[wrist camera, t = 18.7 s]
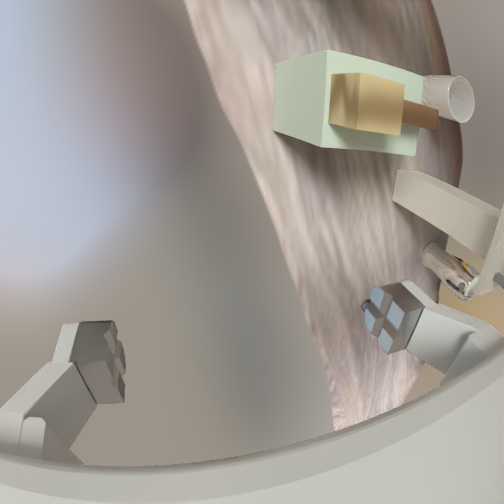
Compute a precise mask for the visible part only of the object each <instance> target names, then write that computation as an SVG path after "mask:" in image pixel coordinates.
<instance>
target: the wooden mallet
mask: <svg viewBox="0 0 504 504" xmlns="http://www.w3.org/2000/svg"><path fill="white" fill-rule="evenodd" d="M404 89H405V84H402V83H399V82H395V81H392V80H388V79H384V78H381V77H377V76H373V75H369V74H365V73H341V74H331V88H330V103H329V117H328V123H330V124H335V125H339V126H343V127H347V128H352V129H356V130H363V131H370V132H377V133H384V134H390V135H396V136H400V132H401V123H405V124H410V125H414V126H418V127H423V128H427V129H431V130H435V131H437V125H438V115H439V110H437V109H434V108H431V107H428V106H425V105H421V104H418V103H414V102H411V101H407V100H404Z"/></svg>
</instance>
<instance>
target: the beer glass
mask: <svg viewBox="0 0 504 504" xmlns="http://www.w3.org/2000/svg"><path fill="white" fill-rule="evenodd" d="M421 263H422V265H424V266H426V267H428V268H430V269H431V270H432V271H434V272H435V273H436V275H437V276H438V277H439V278H440V280H441V281H442V282H443V283H444V284H445V286H446V287H447V288H448V289H449V290H450V291H451V292H452V293H454V294H455V295H457V296H458V297H459V298H460V299H462V300H463V301H464V302H468V301H470V300H471V299H472V298H473V297H474V296H475V295H476V294H475V293H474V292H473V291H474V288H475V286H476V284H477V281H478V279H479V276H480V274H479V273H478V272H477V271H476V270H475V269H474V268H473V267H472V266H470V265H469V264H468V263H466V262H465V261H463V260H461V259H460V258H457V257H455V256H453V255H451V254H449V253H447V252H445V251H444V250H443V249H442V248H441V247H440V246H439V245H438V244H437V243H435V242H432V243H430V244H428V245H427V246H426V247H425V249H424V250H423V252H422V255H421Z"/></svg>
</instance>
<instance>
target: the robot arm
mask: <svg viewBox="0 0 504 504" xmlns="http://www.w3.org/2000/svg"><path fill="white" fill-rule="evenodd" d="M369 298H370V300H371V302H370V304H369V305H368V306H367V307H366V310H365V314H364V320H365V325H366V327H367V329H368V331H369V332H370V333H371V334H373V335H375V336H377V342H378V344H379V345H380V346H381V347H382V349H383V350H384V351H385V353H386V354H387V355H388V354H391V353H394V352H397V351H400V350H404V349H406V351H408V352H410V353H411V354H413V355H415V356H416V357H418V358H419V359H421V360H423V361H424V362H426V363H428V364H429V365H431V366H433V367H434V368H436V369H438V370H439V371H441V372H442V373H444V374H445V376H444V378H443V379H442V381H441V382H440V387H438V388H436V389H434V390H432V391H430V392H428V393H426V394H424V395H422V396H420V397H418V398H416V399H414V400H412V401H410V402H408V403H405V404H403V405H401V406H399V407H397V408H394V409H392V410H390V411H387V412H385V413H383V414H380V415H378V416H375V417H373V418H370V419H368V420H365V421H363V422H360V423H357V424H355V425H352V426H349V427H346V428H343V429H341V430H338V431H335V432H332V433H329V434H325V435H322V436H319V437H316V438H313V439H309V440H305V441H302V442H298V443H295V444H291V445H287V446H283V447H279V448H275V449H270V450H266V451H261V452H256V453H251V454H246V455H241V456H235V457H230V458H223V459H216V460H209V461H201V462H192V463H182V464H171V465H155V466H154V465H153V466H98V465H84V463H83V462H82V461H81V460H80V459H79V458H78V457H77V456H76V455H75V454H74V453H73V452H72V451H71V450H70V447H71V446H72V444H73V442H74V441H75V439H76V438H77V436H78V434H79V433H80V431H81V430H82V428H83V427H84V425H85V424H86V422H87V421H88V419H89V418H90V416H91V415H92V413H93V412H94V410H95V409H96V407H97V404H113V403H114V404H115V403H124V396H125V395H124V394H125V384H124V381H123V379H122V376H123V375H124V374H125V369H126V364H125V355H124V350H123V346H122V343H121V342H120V341H119V340H118V339H117V331H118V330H117V328H116V325H115V322H114V321H112V320H107V321H82V322H66V323H65V324H64V325H63V327H62V330H61V333H60V337H59V340H58V343H57V347H56V350H55V354H54V357H53V361H52V363H47V364H46V365H45V366H43V368H41V369H40V371H38V372H37V373H36V374H35V375H34V376H33V377H32V378H31V379H30V380H29V381H28V382H27V383H26V384H25V385H24V386H23V387H22V388H21V389H20V390H19V391H18V392H17V393H16V394H15V395H14V396H13V397H12V398H11V399H10V400H9V401H8V402H7V403H6V404H5V405H4V406H3V407H2V408H1V409H0V504H504V338H503V337H502V336H501V335H500V334H499V333H498V332H497V331H496V330H495V329H494V328H493V327H492V326H491V325H490V324H489V323H486V322H484V321H481V320H479V319H477V318H474V317H472V316H469V315H467V314H464V313H462V312H459V311H457V310H454V309H452V308H449V307H446V306H444V305H442V304H436V303H435V302H434V301H433V300H431V299H430V298H429V297H428V296H427V295H426V294H425V293H424V292H423V291H422V290H421V289H420V288H418V287H417V286H416V285H415V284H414V283H413V282H412V281H409V280H404V281H400V282H396V283H392V284H387V285H382V286H377V287H374V288H373V289H372V291H371V293H370V296H369Z"/></svg>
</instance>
